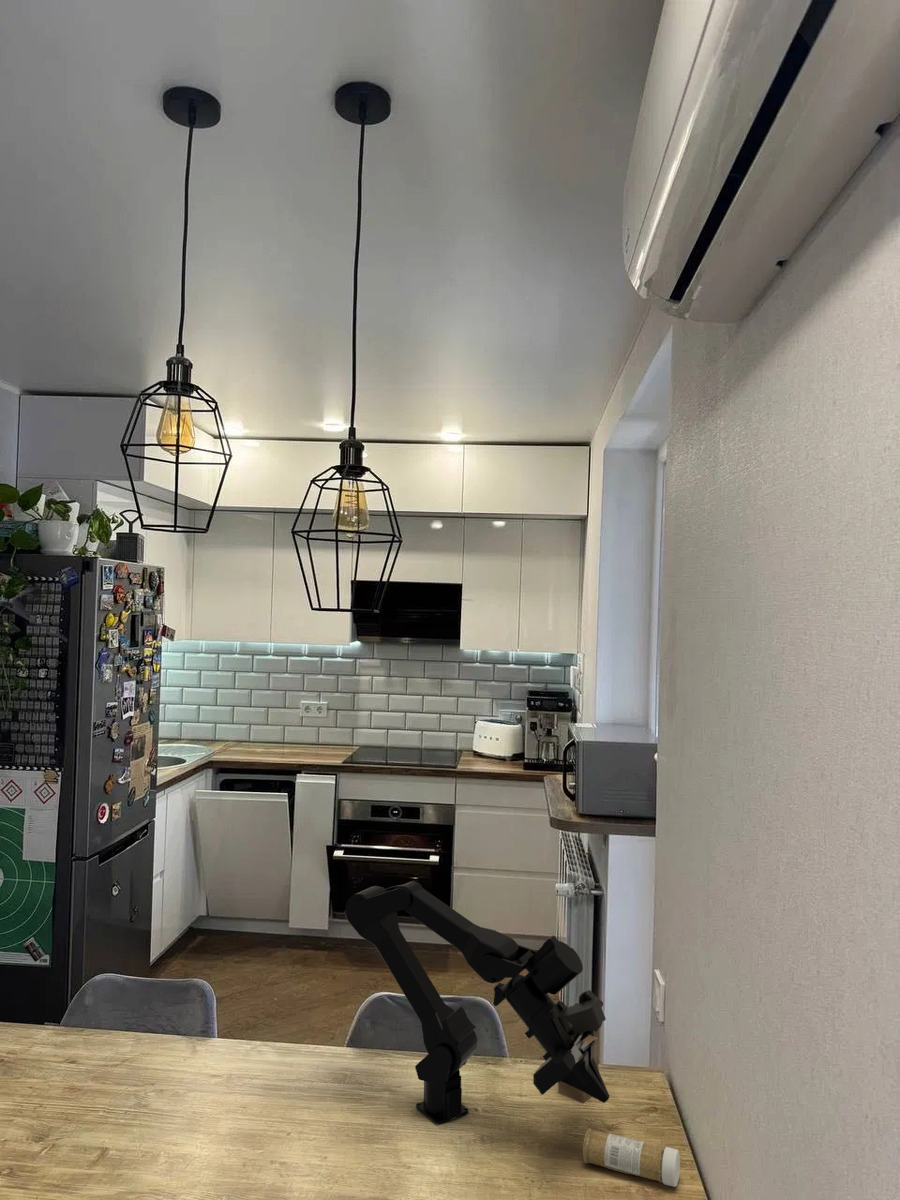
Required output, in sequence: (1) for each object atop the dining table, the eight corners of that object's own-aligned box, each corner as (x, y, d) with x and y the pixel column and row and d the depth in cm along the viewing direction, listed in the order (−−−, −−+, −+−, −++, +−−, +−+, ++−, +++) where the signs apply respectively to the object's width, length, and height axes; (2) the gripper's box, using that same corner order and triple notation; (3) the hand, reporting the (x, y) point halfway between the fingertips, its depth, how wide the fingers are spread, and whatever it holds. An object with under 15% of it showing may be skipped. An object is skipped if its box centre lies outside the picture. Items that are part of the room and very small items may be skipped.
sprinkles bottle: (587, 1164, 126) (678, 1189, 120) (580, 1159, 123) (674, 1185, 117) (592, 1129, 129) (682, 1152, 123) (585, 1124, 126) (677, 1147, 120)
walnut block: (558, 1093, 145) (558, 1039, 146) (573, 1082, 149) (573, 1029, 150) (583, 1103, 142) (583, 1047, 143) (598, 1091, 146) (598, 1038, 146)
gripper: (554, 1001, 122) (630, 1098, 117) (589, 960, 139) (657, 1043, 134) (503, 1046, 125) (575, 1143, 120) (543, 1001, 142) (608, 1084, 137)
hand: (607, 1100), depth 127 cm, fingers closed
